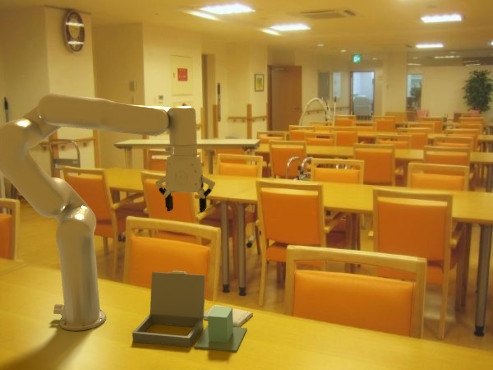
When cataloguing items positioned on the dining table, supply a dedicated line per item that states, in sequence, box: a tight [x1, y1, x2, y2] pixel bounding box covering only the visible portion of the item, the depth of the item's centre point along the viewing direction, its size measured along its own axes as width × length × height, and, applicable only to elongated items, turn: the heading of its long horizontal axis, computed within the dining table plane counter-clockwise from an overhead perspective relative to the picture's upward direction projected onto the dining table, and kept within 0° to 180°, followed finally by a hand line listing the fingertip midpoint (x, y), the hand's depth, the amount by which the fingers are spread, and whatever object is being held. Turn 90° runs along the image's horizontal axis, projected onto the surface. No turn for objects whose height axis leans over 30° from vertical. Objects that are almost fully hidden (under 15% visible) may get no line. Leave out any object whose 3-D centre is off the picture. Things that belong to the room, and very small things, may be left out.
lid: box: [149, 270, 207, 318], centre depth 142 cm, size 16×12×2 cm
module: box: [207, 305, 234, 343], centre depth 133 cm, size 5×6×7 cm
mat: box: [193, 324, 248, 353], centre depth 133 cm, size 11×12×1 cm
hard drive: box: [203, 304, 254, 328], centre depth 146 cm, size 2×8×12 cm
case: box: [131, 313, 204, 348], centre depth 136 cm, size 16×12×2 cm
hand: (186, 210), depth 145 cm, fingers open, 9 cm apart
